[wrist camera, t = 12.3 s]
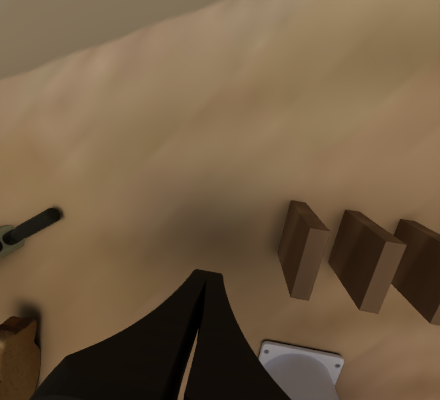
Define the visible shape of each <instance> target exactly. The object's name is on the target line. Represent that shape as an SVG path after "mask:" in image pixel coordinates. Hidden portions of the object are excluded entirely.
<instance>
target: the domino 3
mask: <svg viewBox="0 0 440 400" xmlns="http://www.w3.org/2000/svg"><path fill="white" fill-rule="evenodd" d="M394 236H395V237H396V238H398V239H399V240H400V241H402V242H403V243H405V244H406V245H407V246H406V248H405V250H404V253H403V255H402V258H401V260H400V262H399V265H398V267H397V270H396V272H395V274H394V277H393V279H392V282H391V284H392V285H393V286H394V287H395V288H396V289H397V290H398V291H399V292H400V293H401V294H402V295H403V296H404V297H405V298H406V299H407V300H408V301H409V302H410V303H411V304H412V306H413V307H414V308H415V309H416V310H417V311H418V312H419V313H420V314H421V315H422V316H423V317H424V318H425V319H426V320H427V321H428V322H429V323H430V324H435V325H440V234H438V233H436V232H434V231H432V230H430V229H428V228H427V227H425V226H423V225H421V224H419V223H417V222H415V221H409V220H403V219H400V221H399V224H398V226H397V229H396V232H395V234H394Z"/></svg>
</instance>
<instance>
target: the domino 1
mask: <svg viewBox="0 0 440 400" xmlns="http://www.w3.org/2000/svg"><path fill="white" fill-rule="evenodd" d="M329 234H330V231H329V229H328V228H327V227H326V226H325V225H324V224H323V223H322V221H321V220H320V219H319V218H318V217H317V216H316V214H315V213H314V212H313V211H312V210H311V209H310V208H309V206H308V205H307V204H306V203H304V202H298V201H292V200H291V202H290V206H289V210H288V214H287V218H286V222H285V226H284V230H283V234H282V238H281V242H280V246H279V250H278V256H279V259H280V262H281V266H282V269H283V273H284V276H285V280H286V283H287V287H288V290H289V294H290V297H291V298H296V299H302V300H307V301H309V299H310V295H311V292H312V289H313V286H314V282H315V279H316V276H317V273H318V270H319V266H320V263H321V260H322V257H323V253H324V250H325V247H326V244H327V241H328V237H329Z"/></svg>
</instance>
